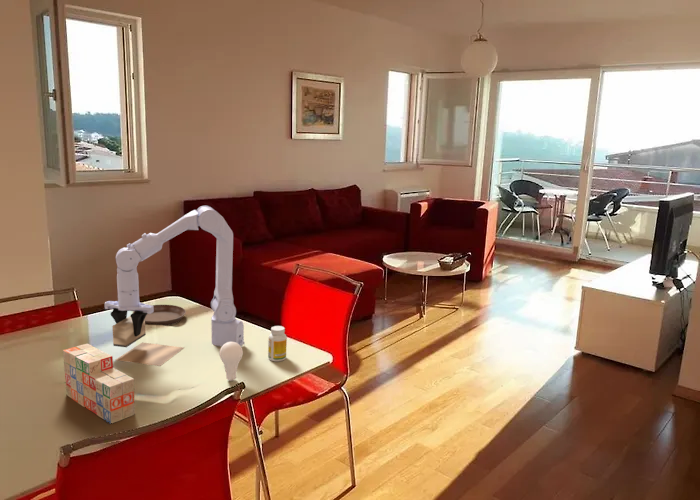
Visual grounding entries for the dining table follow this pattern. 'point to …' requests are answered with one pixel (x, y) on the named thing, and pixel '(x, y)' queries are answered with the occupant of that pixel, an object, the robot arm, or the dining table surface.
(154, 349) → the oak board
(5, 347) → the dining table surface
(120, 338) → the block
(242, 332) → the robot arm
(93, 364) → the stack of blocks
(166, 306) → the plant saucer
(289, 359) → the dining table surface
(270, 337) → the supplement bottle
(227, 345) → the lightbulb
